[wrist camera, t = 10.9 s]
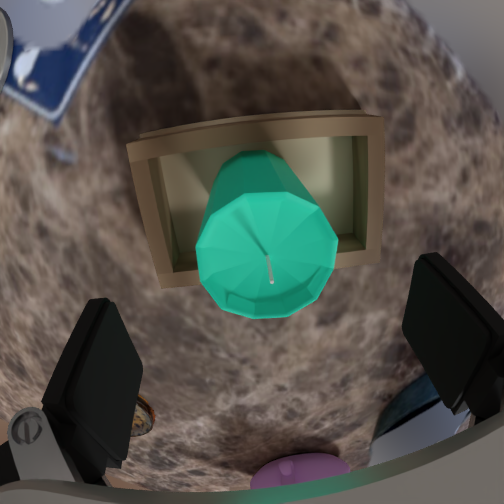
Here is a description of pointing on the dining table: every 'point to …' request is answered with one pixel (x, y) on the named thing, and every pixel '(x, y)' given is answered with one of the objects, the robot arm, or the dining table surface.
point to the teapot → (298, 470)
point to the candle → (263, 239)
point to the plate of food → (142, 418)
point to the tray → (280, 144)
